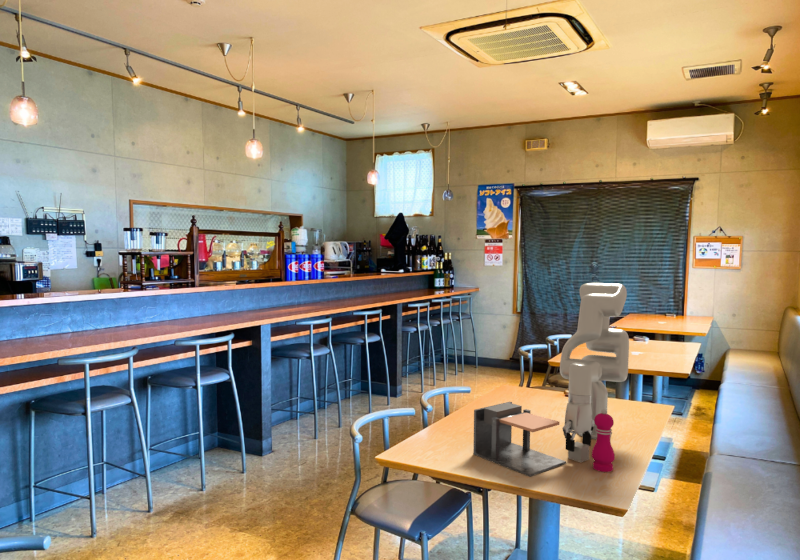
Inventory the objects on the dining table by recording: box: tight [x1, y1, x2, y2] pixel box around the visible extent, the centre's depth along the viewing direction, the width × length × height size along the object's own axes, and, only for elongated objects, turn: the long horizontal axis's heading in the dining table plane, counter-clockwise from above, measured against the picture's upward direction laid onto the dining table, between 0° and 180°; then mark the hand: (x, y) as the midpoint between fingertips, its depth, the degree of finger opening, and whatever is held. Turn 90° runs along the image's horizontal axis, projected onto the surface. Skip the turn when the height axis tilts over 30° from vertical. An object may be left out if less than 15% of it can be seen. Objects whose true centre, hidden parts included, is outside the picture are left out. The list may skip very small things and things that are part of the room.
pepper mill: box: [591, 409, 616, 473], centre depth 185 cm, size 7×7×20 cm
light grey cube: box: [567, 441, 590, 463], centre depth 195 cm, size 5×5×5 cm
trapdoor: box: [483, 402, 560, 433], centre depth 193 cm, size 14×22×5 cm, turn 38°
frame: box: [472, 401, 567, 478], centre depth 193 cm, size 19×25×16 cm
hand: (578, 448), depth 194 cm, fingers open, 9 cm apart
